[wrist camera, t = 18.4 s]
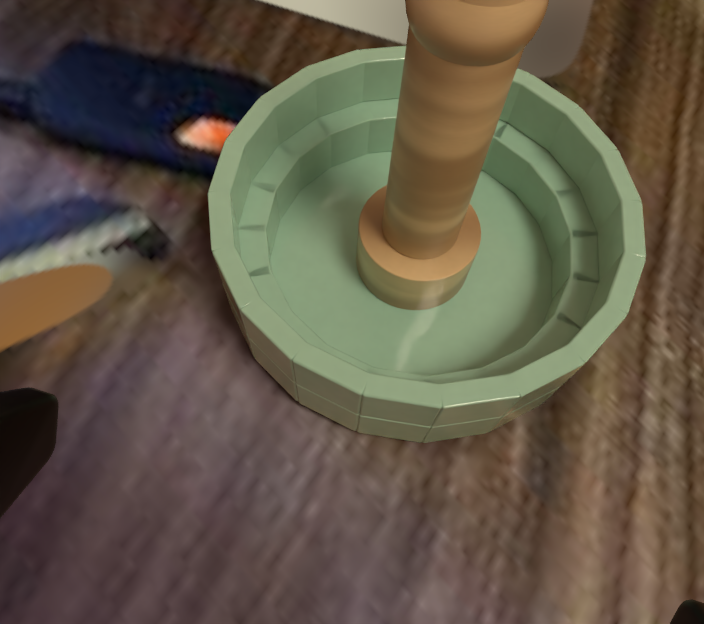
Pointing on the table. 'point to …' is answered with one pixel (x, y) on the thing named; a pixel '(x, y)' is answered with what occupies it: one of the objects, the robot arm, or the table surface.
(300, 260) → the bowl
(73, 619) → the table surface
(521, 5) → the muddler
